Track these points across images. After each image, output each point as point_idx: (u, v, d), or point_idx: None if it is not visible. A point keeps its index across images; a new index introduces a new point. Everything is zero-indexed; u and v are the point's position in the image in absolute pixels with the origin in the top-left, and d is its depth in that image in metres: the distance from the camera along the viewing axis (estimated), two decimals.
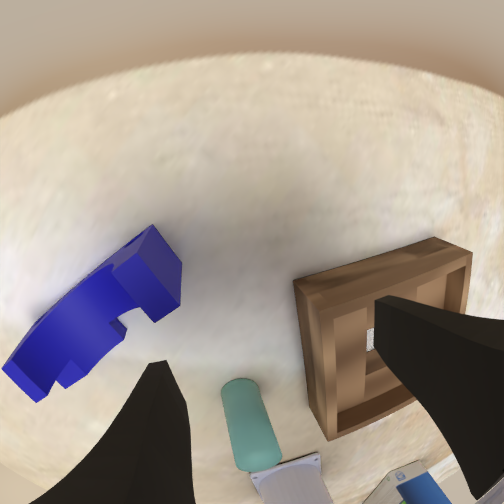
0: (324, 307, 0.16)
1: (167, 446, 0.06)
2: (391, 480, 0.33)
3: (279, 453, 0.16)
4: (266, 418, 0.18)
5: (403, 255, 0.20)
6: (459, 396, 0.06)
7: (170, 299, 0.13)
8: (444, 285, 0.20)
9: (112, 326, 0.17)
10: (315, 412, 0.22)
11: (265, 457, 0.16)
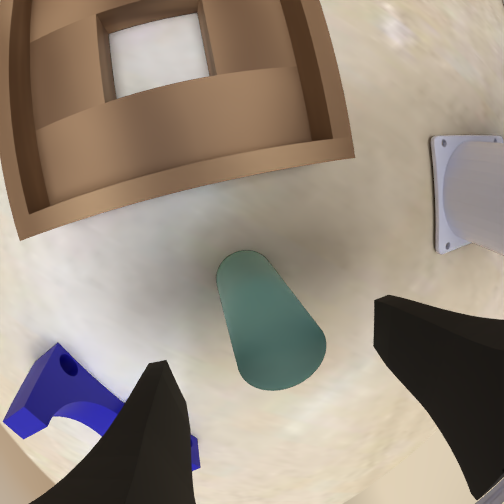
0: None
1: (167, 446, 0.06)
2: None
3: (271, 324, 0.09)
4: (239, 291, 0.12)
5: None
6: (459, 396, 0.06)
7: (22, 411, 0.09)
8: None
9: None
10: None
11: (275, 348, 0.09)
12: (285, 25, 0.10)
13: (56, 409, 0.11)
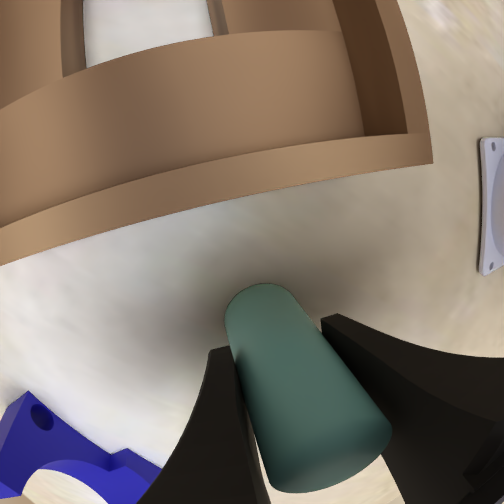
0: None
1: (246, 430, 0.06)
2: None
3: (325, 433, 0.05)
4: (263, 358, 0.07)
5: None
6: (398, 433, 0.05)
7: None
8: None
9: (113, 468, 0.12)
10: None
11: (325, 455, 0.05)
12: None
13: (30, 474, 0.07)
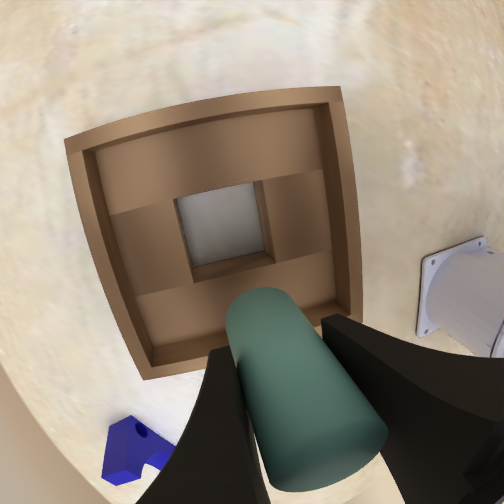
0: None
1: (246, 430, 0.06)
2: None
3: (321, 435, 0.05)
4: (262, 363, 0.08)
5: None
6: (398, 433, 0.05)
7: (123, 471, 0.15)
8: (139, 143, 0.13)
9: None
10: None
11: (323, 456, 0.05)
12: (327, 214, 0.16)
13: (142, 464, 0.17)
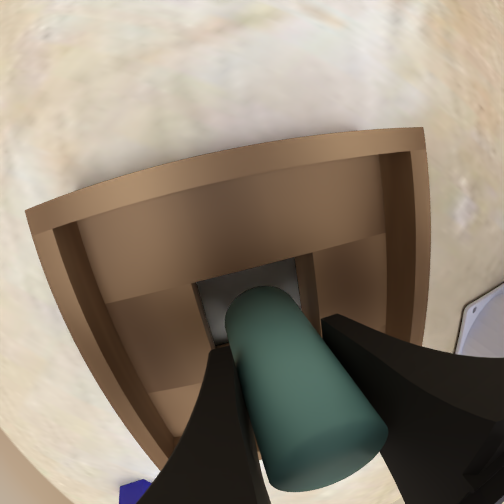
0: None
1: (246, 430, 0.06)
2: None
3: (320, 435, 0.05)
4: (262, 362, 0.08)
5: None
6: (398, 433, 0.05)
7: None
8: (137, 205, 0.09)
9: None
10: None
11: (322, 456, 0.05)
12: (385, 286, 0.12)
13: None
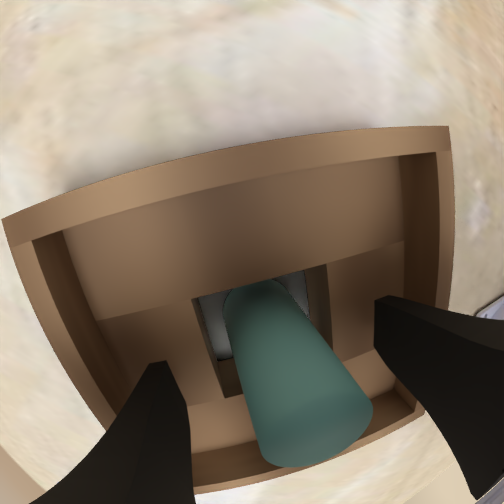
0: None
1: (167, 446, 0.06)
2: None
3: (307, 405, 0.06)
4: (255, 343, 0.09)
5: None
6: (459, 396, 0.06)
7: None
8: (129, 212, 0.08)
9: None
10: None
11: (310, 428, 0.06)
12: None
13: None
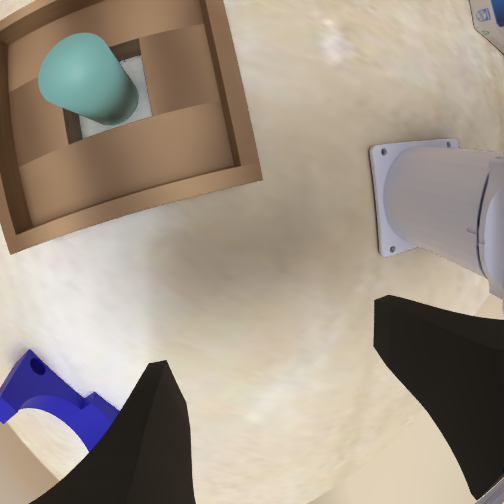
0: None
1: (167, 446, 0.06)
2: (488, 29, 0.15)
3: (64, 41, 0.07)
4: None
5: None
6: (459, 396, 0.06)
7: None
8: (39, 30, 0.10)
9: (84, 406, 0.18)
10: None
11: (66, 60, 0.08)
12: (211, 63, 0.13)
13: (25, 400, 0.14)
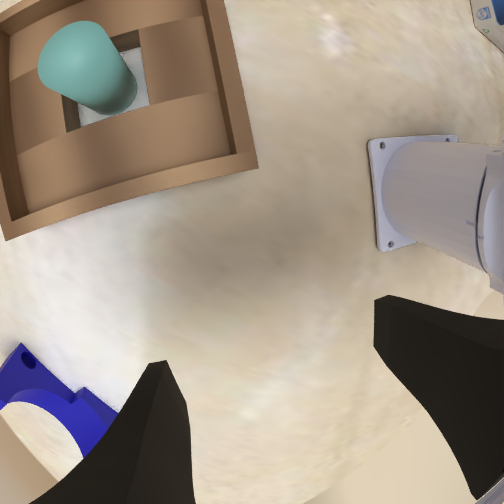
0: None
1: (167, 446, 0.06)
2: (488, 28, 0.15)
3: (64, 29, 0.07)
4: None
5: None
6: (459, 396, 0.06)
7: None
8: (41, 21, 0.09)
9: (73, 401, 0.18)
10: None
11: (65, 46, 0.07)
12: (209, 54, 0.13)
13: (15, 392, 0.14)
